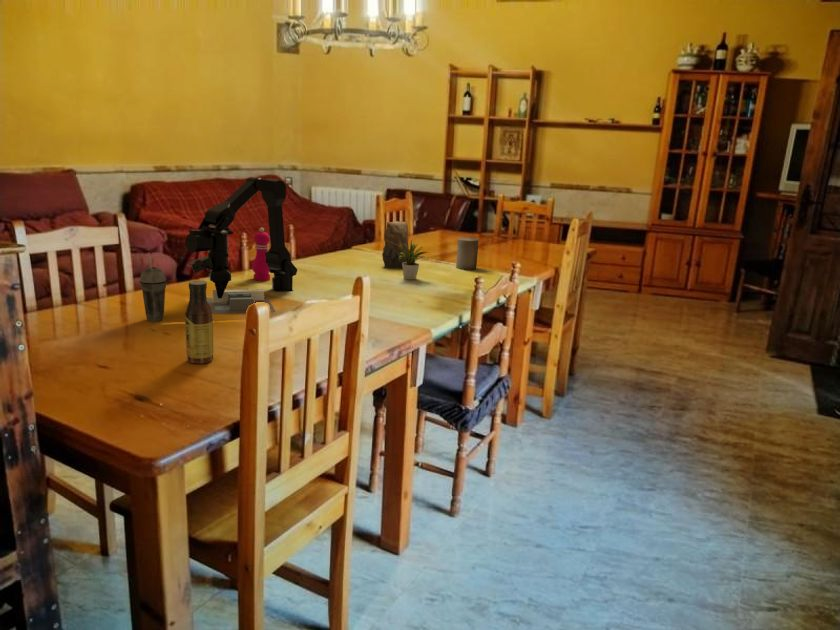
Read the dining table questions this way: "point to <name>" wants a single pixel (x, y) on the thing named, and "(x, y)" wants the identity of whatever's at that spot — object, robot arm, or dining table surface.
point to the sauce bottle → (199, 325)
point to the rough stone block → (391, 252)
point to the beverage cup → (153, 292)
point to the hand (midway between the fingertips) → (219, 296)
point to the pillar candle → (467, 253)
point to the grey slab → (235, 303)
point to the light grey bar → (255, 293)
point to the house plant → (411, 261)
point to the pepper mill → (261, 256)
